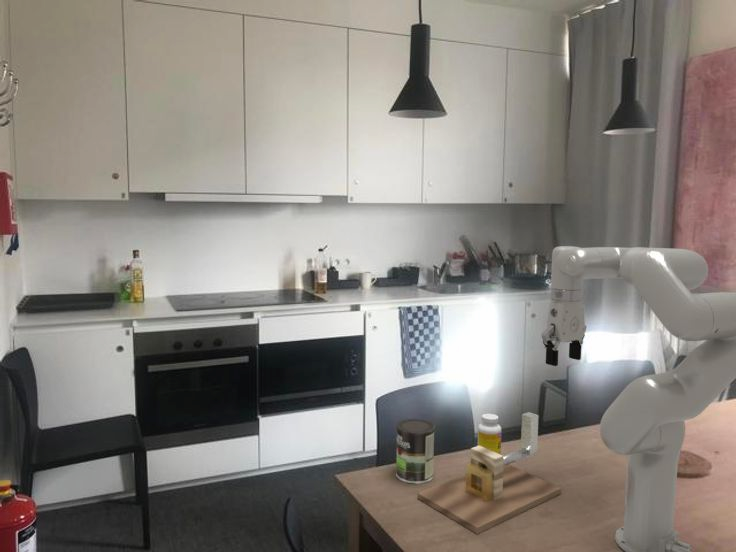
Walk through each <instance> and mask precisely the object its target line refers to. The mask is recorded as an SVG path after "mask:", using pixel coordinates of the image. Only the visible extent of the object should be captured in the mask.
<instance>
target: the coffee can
mask: <svg viewBox="0 0 736 552" xmlns="http://www.w3.org/2000/svg"><path fill="white" fill-rule="evenodd" d="M435 427H436V426H435V424H434V423H432V421H429V420H424V419H420V418H409V419H408V418H407V419H403V420H400V421H398V422H397V423H396V462H395V463H396V469H395V470H396V471H395V477H396V478H397V479H398V480H399V481H401V482H403V483H407V484H411V485H415V484H416V485H420V484H422V485H423V484H426V483H429V482H431V481H432V480H433V479H434V459H435V457H434V455H435V454H434V452H435V451H434V450H435V448H434V447H435V430H436V429H435Z"/></svg>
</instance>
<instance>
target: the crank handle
mask: <svg viewBox="0 0 736 552" xmlns="http://www.w3.org/2000/svg"><path fill="white" fill-rule="evenodd" d="M520 431H521V433H520V435H521V436H520V449H517V450H515V451H512V452H510V453H507V454H504V455H503V456H504V463H503V466H506V465H511V464H513V463H515V462H519V461H520V460H523V459H526V458H529V457H531V456H534V455H535V454H537V452H538V437H539V415H538V414H536V413H532V412H530V411H528V412H525V413H522V414H521V430H520ZM483 468H485V469H487V465H485V464H483Z"/></svg>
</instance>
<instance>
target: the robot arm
mask: <svg viewBox="0 0 736 552" xmlns="http://www.w3.org/2000/svg"><path fill="white" fill-rule="evenodd" d="M551 256H552V257H551V273H550V274H551V276H550V277H551V279H550V299H549V300H550V302H549V305H548V306H549V307H548V311H547V312H548V313H547V321H546V323H547V324H546V328H545V329H544V331H542V332H541V338H542V344H543V345H544V349H545V352H546V353H545V364H547V365H549V366H553V367H558V365H559V350H558V347H560V346H559V345H560V343H564V344H565V343H569V345H568V347H569V348H568V358H569V359H572V360H577V361H580V360H581V359H582V345H583V344H584V338H585V337H586V336H585V335H586V334H585V333H586V330H587V325H586V324H585V322H586V320H585V306H584V301H583V283H584V281H585V280H597V279H599V280H602V279H622V280H623V281H624V282H625V283H626V284H627V285H628V286H630V287H635V289H636V290H637V293H639V296H641V298H642V300H644V302H645V303H646V304H647V306H648V307H649V308H650V310H651V311H652V312H653V313H654V316H656V318H657V319H658V321H659V322H660V323H661V325H662V326H663V327H664V329H665V330H667V332H668V333H669V334H670V335H672V336H673V337H675V338H677V339H678V340H680V341H681V340H682V341H685V342H699V341H700V342H701V341H703V342H702V343H701V344H699V345H698V346H697V347H695V348H693V349H692V350H691V351H690V352H689V353H688V354H687V355H686V356H685V357H684V359H683V360H682V361H681V362H680V363H679V364H678V365H677V366H676V367H674V368H673V369H672V370H669V371H666V372H665V371H664V372H660V373H654V374H647V375H644V376H640V377H638V378H635V379H634V380H632V381H630V383H628V384H627V386H625V388H623V390H622V391H621V392H620V394H619V395H618V396H617V397H616V398H615V399H614V401H613V402H611V404H610V405H609V407H608V408H607V409H606V410H605V412H604V414H603V416H602V418H601V419H600V424H599V435H600V439H601V442H603V444H604V446H605V447H606V448H607V449H608V450H610V451H611V452H613V453H615V454H617V455H621V456H628V459H627V463H626V464H627V465H626V478H625V479H626V480H625V498H624V516H623V526H621V527H619V528H618V529H616V532H615V536H614V538H615V539H614V540H615V542H616V544H617V545H618V546H619V547H620V548H621V549H622V550H623V551H624V552H692V551H691V545H690V544H688V543H686V542H683V541H681V540H680V539H679V538H678V536H679V531H677V530H675V529H674V519H675V506H676V505H675V503H676V492H677V491H676V490H677V480H678V479H677V476H678V467H679V458H680V455H681V452H682V447H683V444H684V441H685V436H686V423H685V421H688V420H693V419H694V418H697V417H698V416H699V415H701V414H702V413H704V411H705V410H706V408H708V407H709V405H711V404H712V403H713V402H714V401H716V399H717V398H718V397H719V396H720V395H721V394H722V393H723V392H724V391H725V390H726V388H727V387H729V385H731V383H732V382H733V381H735V379H736V292H732V291H730V292H727V291H720V292H719V291H718V292H705V293H704V292H702V293H692V292H691V291H692V290H695V289H697V288H699V287H700V286H701V285H703V284H704V283H705V281H706V279H707V278H708V274H709V265H708V263H707V261H706V259H705V258H704V257H703V256H702V255H701V254H699V253H698V252H696V251H695V250H694V251H693V250H690V249H685V248H672V247H671V248H669V247H667V248H666V247H665V248H664V247H642V246H641V247H640V246H637V247H635V246H634V247H620V246H619V247H617V246H615V247H613V246H610V247H609V246H607V247H606V246H603V247H602V246H598V247H597V246H596V247H595V246H594V247H593V246H592V247H581V246H580V247H579V246H573V245H567V246H566V245H564V246H563V245H561V246H555V247H554V249H553V250H552V253H551ZM553 342H554V343H553Z"/></svg>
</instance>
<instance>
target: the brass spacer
mask: <svg viewBox="0 0 736 552" xmlns="http://www.w3.org/2000/svg"><path fill="white" fill-rule="evenodd" d="M465 465H466V467H465V468H466V469H465V473H466V491H467V492H469V493H471V494H472V495H474V496H476V497H478V498H480V499H482V500H484V501H486V502H488V501H491V500H492V498H493V472H491V471H489V470H487V469H485V468H483V467H481V466H479V465H477V464H474V463H472V462H471V461H470V462H469V463H466V464H465ZM477 476H478V477H480V478H482V487H480V486H478V485H476V482H477Z"/></svg>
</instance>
